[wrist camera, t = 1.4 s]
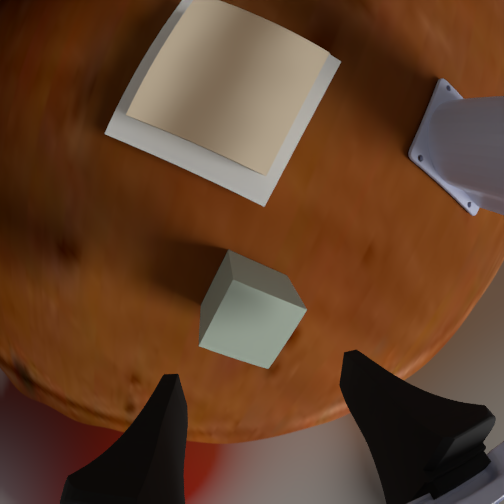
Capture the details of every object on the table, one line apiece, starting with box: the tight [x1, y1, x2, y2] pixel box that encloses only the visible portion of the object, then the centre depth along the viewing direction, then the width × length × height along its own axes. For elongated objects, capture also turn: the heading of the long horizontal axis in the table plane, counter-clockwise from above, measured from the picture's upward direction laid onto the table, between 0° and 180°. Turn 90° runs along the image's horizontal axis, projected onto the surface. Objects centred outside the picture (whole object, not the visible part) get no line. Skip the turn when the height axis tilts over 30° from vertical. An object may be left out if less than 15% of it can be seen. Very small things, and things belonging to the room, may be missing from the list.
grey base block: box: [105, 0, 341, 207], centre depth 16 cm, size 10×10×3 cm
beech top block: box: [126, 0, 330, 176], centre depth 13 cm, size 7×7×3 cm
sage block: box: [199, 250, 307, 369], centre depth 19 cm, size 4×4×5 cm
